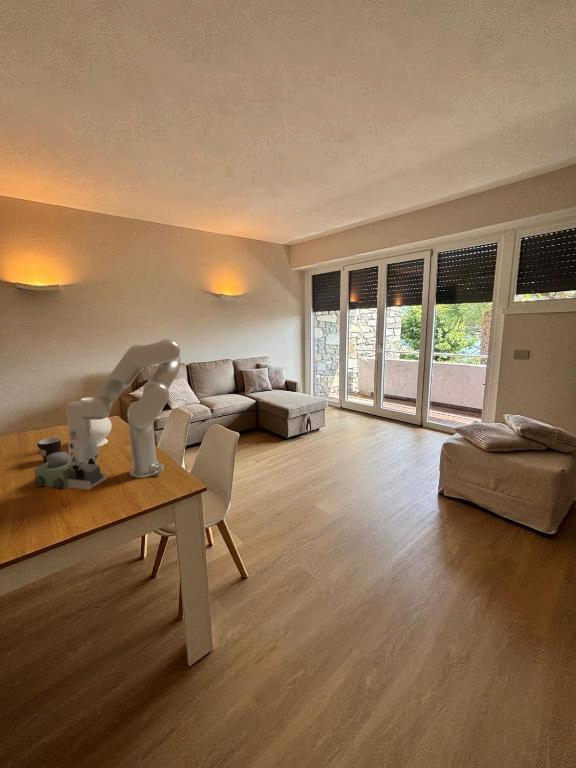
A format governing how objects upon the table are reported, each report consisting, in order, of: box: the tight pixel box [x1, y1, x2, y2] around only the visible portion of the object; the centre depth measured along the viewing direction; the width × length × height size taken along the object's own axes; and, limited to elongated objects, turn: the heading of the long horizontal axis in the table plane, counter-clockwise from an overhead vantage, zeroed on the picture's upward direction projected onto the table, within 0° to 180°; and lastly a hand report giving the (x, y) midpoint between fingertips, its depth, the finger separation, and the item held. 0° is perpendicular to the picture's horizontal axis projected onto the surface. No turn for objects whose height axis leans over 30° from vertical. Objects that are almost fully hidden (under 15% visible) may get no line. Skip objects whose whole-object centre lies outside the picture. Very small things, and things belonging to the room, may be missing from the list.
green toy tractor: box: [33, 451, 107, 491], centre depth 134 cm, size 24×13×11 cm, turn 78°
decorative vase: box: [80, 396, 113, 448], centre depth 174 cm, size 18×18×25 cm
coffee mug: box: [37, 436, 62, 464], centre depth 155 cm, size 12×9×10 cm
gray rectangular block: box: [71, 462, 101, 484], centre depth 133 cm, size 9×5×6 cm, turn 78°
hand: (86, 474), depth 133 cm, fingers open, 5 cm apart
